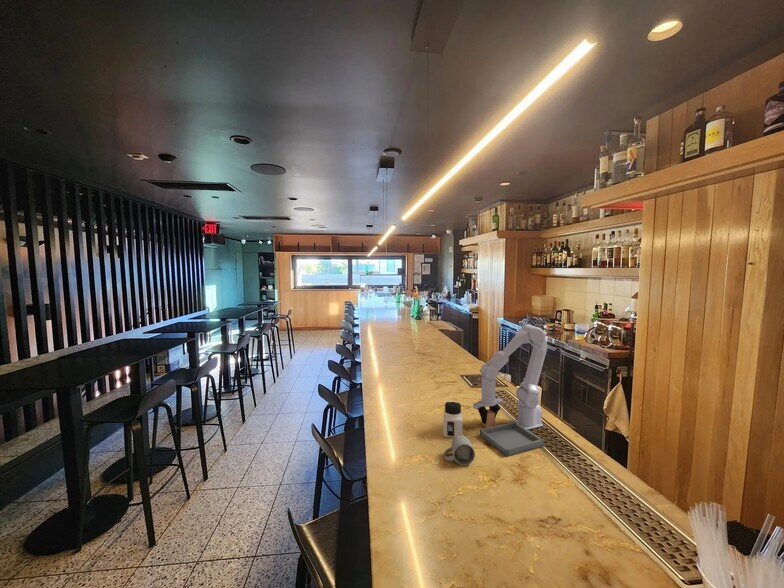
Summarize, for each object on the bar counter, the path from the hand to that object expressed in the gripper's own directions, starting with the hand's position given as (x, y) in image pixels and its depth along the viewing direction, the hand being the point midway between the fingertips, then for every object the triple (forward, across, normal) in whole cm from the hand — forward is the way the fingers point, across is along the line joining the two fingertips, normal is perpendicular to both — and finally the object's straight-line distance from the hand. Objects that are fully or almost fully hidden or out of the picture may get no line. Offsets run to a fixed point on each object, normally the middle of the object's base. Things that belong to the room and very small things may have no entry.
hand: (488, 421), depth 137 cm
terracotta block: (+1, 0, 0) cm, 1 cm away
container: (+2, +18, 0) cm, 18 cm away
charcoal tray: (+1, 0, +14) cm, 14 cm away
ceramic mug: (+2, +26, +17) cm, 31 cm away
